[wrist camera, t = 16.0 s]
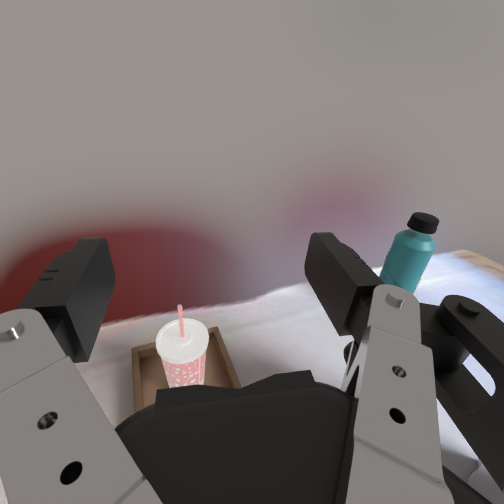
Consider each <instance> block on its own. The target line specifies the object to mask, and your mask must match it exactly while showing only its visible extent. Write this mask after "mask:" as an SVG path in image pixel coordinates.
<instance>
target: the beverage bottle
mask: <svg viewBox="0 0 504 504" xmlns="http://www.w3.org/2000/svg"><path fill="white" fill-rule="evenodd" d="M438 223H439V220H438V218H436V217H435V216H433V215H430V214H426V213H420V212H416V213H413V215H412V216H411V218H410V220H409V221H408V223H407V226H408V227H409V228H411V230H410V229H408V230H404V231H401V232H399V233H397V234H396V235H395V238H394V241H393V244H392V246H391V248H390V251H389V253H388V255H387V256H386V261H385V263H384V266H383V268H382V270H381V273H380V276H379V278H380V279H381V280H382V281H383V283H384V284H389V285H394V286H398V287H400V288H403V289H405V290H407V291H408V292H410V293H411V294H414V293H413V292H415V291H414V290H416V288H417V287H416V286H418V285H417V284H419V283H418V282H420V281H419V280H421V276H422V274H423V272H424V270H425V268H426V266H427V264H428V262H429V260H430V258H431V256H432V254H433V252H434V251H435V249H436V244H435V242H434V241H433V239H432V238H431V236H429V235H428V234H433V233H435V232H436V230H437V226H438Z"/></svg>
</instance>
